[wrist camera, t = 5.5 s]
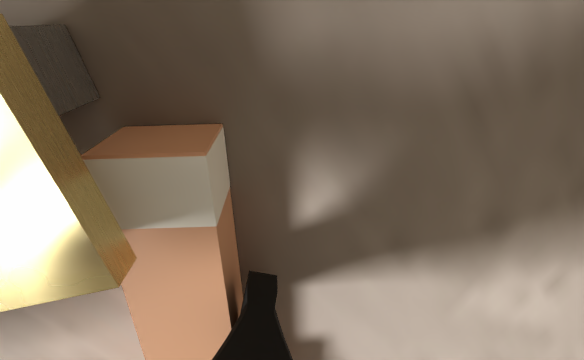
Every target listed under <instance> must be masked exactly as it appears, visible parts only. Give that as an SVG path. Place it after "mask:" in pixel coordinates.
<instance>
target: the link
mask: <svg viewBox="0 0 584 360" xmlns="http://www.w3.org/2000/svg"><path fill="white" fill-rule="evenodd" d="M81 157H82V159H83V161H84V163H85V165H86V166H87V168H88V170H89V172H90V174H91V175H92V177H93V179H94V181H95V183H96V184H97V186H98V188H99V190H100V192H101V194H102V195H103V197H104V199H105V201H106V203H107V204H108V206H109V208H110V210H111V212H112V213H113V215H114V217H115V219H116V221H117V222H118V224H119V226H120V228H121V230H122V232H123V233H124V235H125V237H126V239H127V241H128V242H129V244H130V246H131V248H132V250H133V251H134V253H135V255H136V257H137V259H136V261H135V262H134V264H133V265H132V267H131V269H130V270H129V272H128V273H127V275H126V277H125V278H124V280H123V281H122V283H121V285H122V288H123V291H124V294H125V297H126V301H127V304H128V307H129V310H130V313H131V316H132V319H133V323H134V326H135V329H136V332H137V335H138V338H139V341H140V345H141V348H142V351H143V354H144V357H145V360H212V359H213V357H214V356H215V354H216V353H217V352H218V350H219V349H220V347H221V346H222V344H223V343H224V341H225V340H226V338H227V336H228V335H229V333H230V331H231V330H232V328H233V326H234V325H235V323H236V321H237V320H238V318H239V316H240V312H241V307H242V302H243V292H242V284H241V276H240V267H239V259H238V251H237V242H236V234H235V226H234V217H233V209H232V200H231V192H230V179H229V170H228V162H227V153H226V145H225V137H224V128H223V125H222V124H196V125H164V126H131V127H123V128H121V129H120V130H118V131H117V132H115V133H114V134H112V135H111V136H109V137H108V138H106V139H105V140H103V141H102V142H100V143H99V144H97V145H96V146H94V147H93V148H91V149H90V150H88V151H87V152H85V153H84V154H82V155H81Z"/></svg>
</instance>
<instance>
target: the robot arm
mask: <svg viewBox="0 0 584 360" xmlns="http://www.w3.org/2000/svg"><path fill="white" fill-rule="evenodd" d="M276 297H277V276H276V275H270V274H264V273H259V272H253V271H249V275H248V279H247V284H246V289H245V293H244V298H243V302H242V307H241V312H240V316H239V318H238V320H237V321H236V323H235V325H234V326H233V328H232V330H231V331H230V333H229V335H228V336H227V338H226V340H225V341H224V343H223V344H222V346H221V347H220V349H219V350H218V352H217V353H216V354H215V356H214V357H213V359H212V360H293V359H292V356H291V354H290V351H289V349H288V346H287V344H286V341H285V338H284V335H283V332H282V330H281V326H280V323H279V320H278V317H277V313H276V310H275V303H276Z"/></svg>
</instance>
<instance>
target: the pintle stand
mask: <svg viewBox="0 0 584 360" xmlns="http://www.w3.org/2000/svg"><path fill="white" fill-rule="evenodd" d="M98 98H100V96H99V94H98V92H97V90H96V88H95V86H94V84H93V82H92V80H91V78H90V76H89V74H88V72H87V69H86V67H85V65H84V63H83V61H82V59H81V57H80V55H79V53H78V51H77V49H76V47H75V45H74V43H73V41H72V39H71V37H70V35H69V32H68V30H67V28H66V26H65V25H39V26H12V27H9V25H8V23H7V22H6V20H5V18H4V16H3V14H0V312H2V311H7V310H12V309H17V308H22V307H26V306H31V305H36V304H41V303H46V302H51V301H55V300H60V299H65V298H70V297H75V296H80V295H84V294H89V293H94V292H99V291H104V290H109V289H113V288H118V287H119V286H120V285H121V283H122V281H123V280H124V278H125V277H126V275H127V273H128V272H129V270H130V269H131V267H132V265H133V264H134V262H135V261H136V259H137V257H136V255H135V253H134V251H133V250H132V248H131V246H130V244H129V242H128V241H127V239H126V237H125V235H124V233H123V232H122V230H121V228H120V226H119V224H118V222H117V221H116V219H115V217H114V215H113V213H112V212H111V210H110V208H109V206H108V204H107V203H106V201H105V199H104V197H103V195H102V194H101V192H100V190H99V188H98V186H97V184H96V183H95V181H94V179H93V177H92V175H91V174H90V172H89V170H88V168H87V166H86V165H85V163H84V161H83V159H82V157H81V156H80V154H79V152H78V150H77V148H76V146H75V145H74V143H73V141H72V139H71V137H70V136H69V134H68V132H67V130H66V128H65V127H64V125H63V123H62V121H61V119H60V118H59V115H61V114H63V113H66V112H68V111H70V110H73V109H75V108H77V107H79V106H82V105H84V104H86V103H89V102H91V101H93V100H96V99H98Z"/></svg>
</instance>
